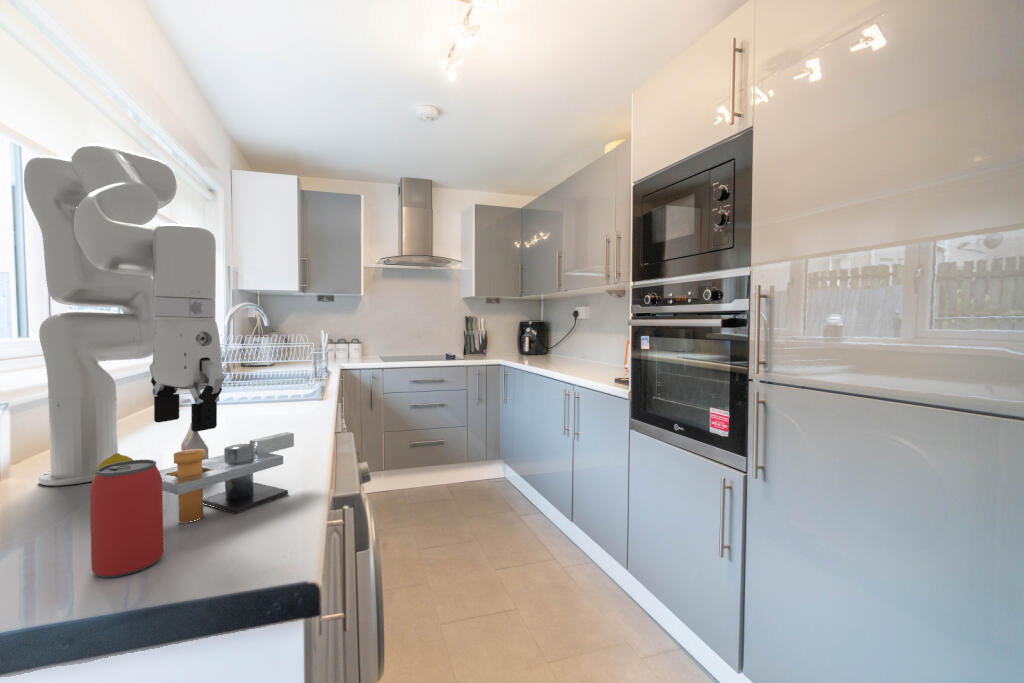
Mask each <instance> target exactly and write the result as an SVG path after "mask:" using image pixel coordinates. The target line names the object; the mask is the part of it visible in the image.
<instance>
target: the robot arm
mask: <svg viewBox="0 0 1024 683" xmlns="http://www.w3.org/2000/svg"><path fill="white" fill-rule="evenodd" d="M23 171H24V172H23V184H24V185H23V186H24V191H25V192H24V193H25V196H26V199H27V202H28V204H29V207H30V209H31V211H32V214H33V215H34V218H35V219H36V221H37V223H38V225H39V226H38V227H39V229H40V232H41V235H42V245H43V257H44V258H43V259H44V269H45V278H46V280H45V281H46V285H47V286H46V287H47V291H48V294H49V297H51V299H52V300H53V301H55V302H56V303H59V304H62V305H67V306H68V305H69V306H75V307H76V306H77V307H95V308H96V307H101V308H119V309H121V311H122V312H121V313H120V312H119V313H117V312H116V313H113V312H93V311H91V312H90V311H88V312H85V311H78V312H77V311H75V312H74V311H72V312H71V311H70V312H69V311H68V312H61V313H56V314H53V315H50V316H48V317H46V318H45V319H44V320H43V321H42V323H41V324H40V325H39V329H38V330H39V334H38V336H39V342H40V346H41V351H42V354H43V358H44V363H45V367H46V375H47V376H46V377H47V391H48V392H47V393H48V418H49V419H48V422H49V425H48V427H49V454H50V456H49V457H50V470H49V471H46V472H44V473H42V474H41V475H40V476H38V483H39V484H40V485H43V486H48V487H49V486H50V487H51V486H52V487H55V486H69V485H77V484H84V483H90V482H91V483H92V482H93V480H94V476H95V471H96V470H97V468H98V466H99V465H100V464H101V462H103V461H104V460H105V459H107V458H109V457H111V456H112V455H113V454H116V453H119V452H118V451H119V450H118V444H119V442H118V414H117V412H118V410H117V409H118V408H117V386H116V382H115V380H114V378H113V377H112V375H111V374H110V373H109V372H107V371H106V370H105V369H104V368H103V367H102V366H101V365H100V362H107V361H108V362H109V361H128V360H130V361H131V360H142V359H147V358H150V357H152V363H151V364H150V365H149V371H150V375H151V379H150V382H151V384H152V387H153V388H152V394H153V395H152V396H153V405H154V406H153V408H154V409H153V414H154V415H153V417H154V418H153V421H154V422H155V423H162V422H163V423H165V422H170V421H175V420H179V418H180V393H177V392H178V390H179V389H182V390H189V392H190V395H191V397H192V399H193V401H194V403H191V406H190V407H191V408H190V409H191V411H190V412H191V417H190V418H191V419H190V420H191V421H190V424H191V430H192V431H194V432H198V433H199V432H203V431H207V430H213V429H215V428H217V425H218V420H217V419H218V416H217V415H218V414H217V413H218V412H217V410H218V402H219V400H220V394H221V393H222V390H223V389H222V386H223V384H224V380H225V374H224V372H223V369H222V367H223V366H222V364H223V363H222V352H221V350H222V349H221V341H220V334H219V328H218V324H217V321H216V294H217V293H216V292H217V291H216V277H217V276H216V275H217V274H216V272H217V271H216V270H217V269H216V265H217V261H216V260H217V258H216V257H217V254H216V253H217V250H216V249H217V247H216V246H217V245H216V244H217V243H216V238H215V236H214V234H213V233H212V232H211V231H210V230H208V229H206V228H203V227H199V226H193V225H188V224H181V223H180V224H178V223H177V224H176V223H166V224H165V223H164V224H159V225H158V226H156V227H155V226H149V225H145V224H148V223H149V222H151V221H152V220H153V219H154V218H155V217H156V215H157V213H158V210H160V209H163V208H164V207H166V206H168V205H169V204H170V203H171V202H172V201H173V200H174V198H175V196H176V194H177V188H178V185H177V179H176V176H175V174H174V172H173V170H172V169H171V168H170V167H169V165H168V164H167V163H165V162H163V161H162V160H159V159H157V158H154V157H151V156H147V155H143V154H140V153H136V152H133V151H129V150H125V149H123V148H118V147H115V146H111V145H107V144H100V143H90V144H84V145H81V146H79V147H78V148H76V149H74V151H73V152H72V154H71V158H68V157H67V158H66V157H61V156H60V157H59V156H53V155H41V156H40V155H39V156H35V157H32V158H31V159H30V160H29V161H28V162H27V163H26V165H25V167H24V170H23ZM200 390H202V392H201V391H200Z"/></svg>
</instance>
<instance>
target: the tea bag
mask: <svg viewBox="0 0 1024 683" xmlns="http://www.w3.org/2000/svg"><path fill="white" fill-rule="evenodd" d="M180 449H181V450H180V451H184V450H190V449H204V450H205V459H209V458H210V457H209V448H208V445H207V444H206V443H205V441H204V439H203V438H202V437H201V435H200V433H199V431H198V432H194V431H192V430H191V423H190V425H189V428H188V431H187V433H186V434H185V437H184V438H183V440H182V443H181V445H180ZM205 459H204V460H205Z"/></svg>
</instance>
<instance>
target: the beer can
mask: <svg viewBox="0 0 1024 683" xmlns="http://www.w3.org/2000/svg"><path fill="white" fill-rule="evenodd" d="M159 471H160V469H159V468H158V466H157V461H155V460H154V459H153V460H152V459H133V460H131V461H124V462H118V463H114V464H109V465H106V466H103V467H101V468H98V469H97V470H96V471H95V473H96V476H95V478H94V480H93V481H91V484H90V488H89V518H90V519H89V523H90V525H89V526H90V557H91V558H90V559H91V571H92V573H93V574H94V575H95V576H98V577H101V578H116V577H123V576H128V575H131V574H134V573H137V572H140V571H143V570H145V569H147V568H149V567H151V566H152V565H154V564H156V563H157V562H158V561H159V560H160V559H161V558H162V557H163V555H164V553H165V552H164V548H165V546H164V511H163V510H164V508H163V507H164V506H163V501H164V500H163V499H164V498H163V491H162V477H161V474H160V472H159Z"/></svg>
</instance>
